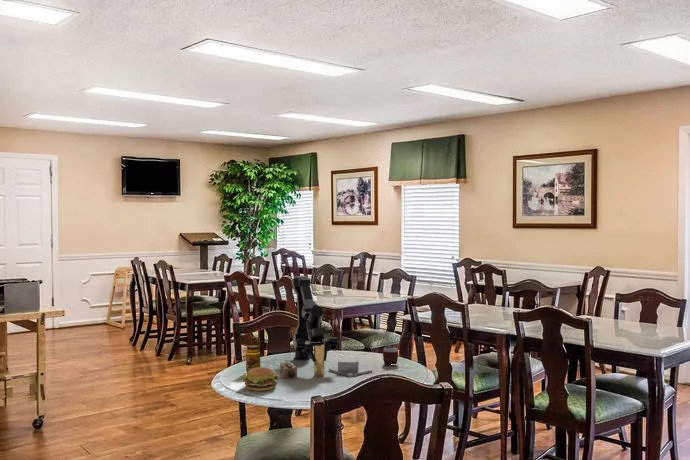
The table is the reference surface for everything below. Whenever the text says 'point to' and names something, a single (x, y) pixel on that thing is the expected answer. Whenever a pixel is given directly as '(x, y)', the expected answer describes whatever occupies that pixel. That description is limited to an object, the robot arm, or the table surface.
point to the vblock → (350, 368)
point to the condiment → (252, 357)
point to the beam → (288, 371)
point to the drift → (288, 363)
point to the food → (260, 379)
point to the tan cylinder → (319, 361)
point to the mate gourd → (390, 354)
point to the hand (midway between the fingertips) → (319, 361)
